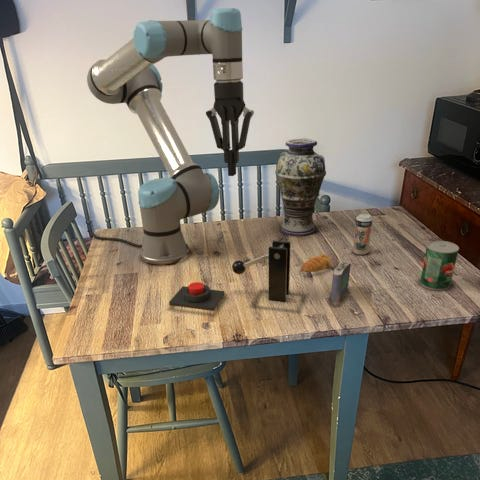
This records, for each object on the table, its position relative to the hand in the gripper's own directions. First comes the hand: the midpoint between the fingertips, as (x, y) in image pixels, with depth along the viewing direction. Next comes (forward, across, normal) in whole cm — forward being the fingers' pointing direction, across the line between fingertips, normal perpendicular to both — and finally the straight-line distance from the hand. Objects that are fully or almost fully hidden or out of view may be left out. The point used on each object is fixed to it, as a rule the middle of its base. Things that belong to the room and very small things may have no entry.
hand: (232, 174), depth 131 cm
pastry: (+27, +25, 0) cm, 37 cm away
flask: (+27, +34, -16) cm, 46 cm away
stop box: (+26, -1, -28) cm, 39 cm away
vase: (+27, +13, +30) cm, 42 cm away
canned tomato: (+27, +58, -1) cm, 64 cm away
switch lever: (+17, +15, -22) cm, 31 cm away
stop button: (+23, -1, -28) cm, 36 cm away
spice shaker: (+27, +36, +16) cm, 48 cm away
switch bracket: (+26, +19, -22) cm, 39 cm away
